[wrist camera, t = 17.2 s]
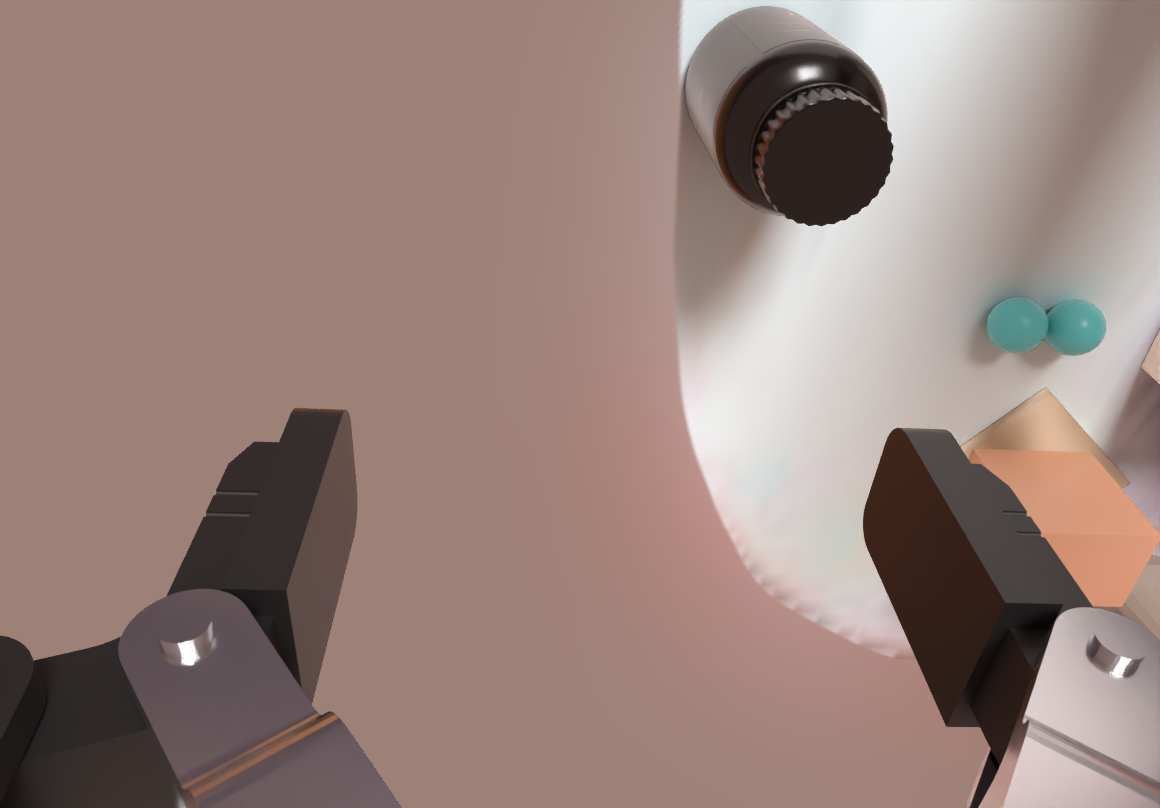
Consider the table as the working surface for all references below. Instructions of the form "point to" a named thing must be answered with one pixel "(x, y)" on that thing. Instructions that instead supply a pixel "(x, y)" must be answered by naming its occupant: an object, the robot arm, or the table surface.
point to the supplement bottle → (789, 116)
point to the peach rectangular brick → (1079, 517)
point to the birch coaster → (1041, 433)
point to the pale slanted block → (1153, 360)
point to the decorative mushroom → (1143, 599)
